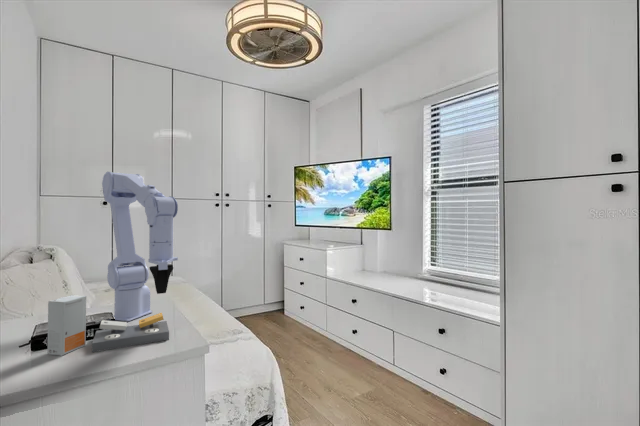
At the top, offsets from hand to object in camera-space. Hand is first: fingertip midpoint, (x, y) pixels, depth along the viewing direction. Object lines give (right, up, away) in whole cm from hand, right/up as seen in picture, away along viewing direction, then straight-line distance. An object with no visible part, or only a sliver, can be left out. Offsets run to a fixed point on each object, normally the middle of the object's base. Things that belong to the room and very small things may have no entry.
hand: (161, 292), depth 88 cm
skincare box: (-16, -11, -11) cm, 22 cm away
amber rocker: (-2, -7, -1) cm, 7 cm away
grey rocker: (-9, -7, -5) cm, 13 cm away
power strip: (-5, -10, -5) cm, 12 cm away
